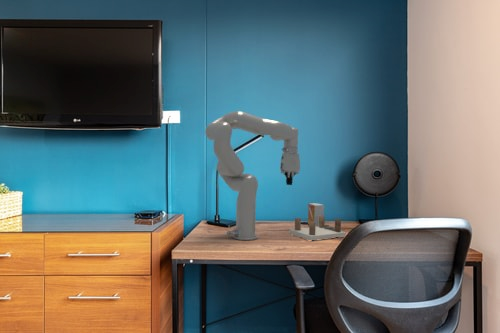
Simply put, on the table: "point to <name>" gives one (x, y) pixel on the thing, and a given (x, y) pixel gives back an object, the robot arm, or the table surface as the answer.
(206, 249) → the table surface
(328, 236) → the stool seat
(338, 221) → the grey and brown lever
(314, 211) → the small box
